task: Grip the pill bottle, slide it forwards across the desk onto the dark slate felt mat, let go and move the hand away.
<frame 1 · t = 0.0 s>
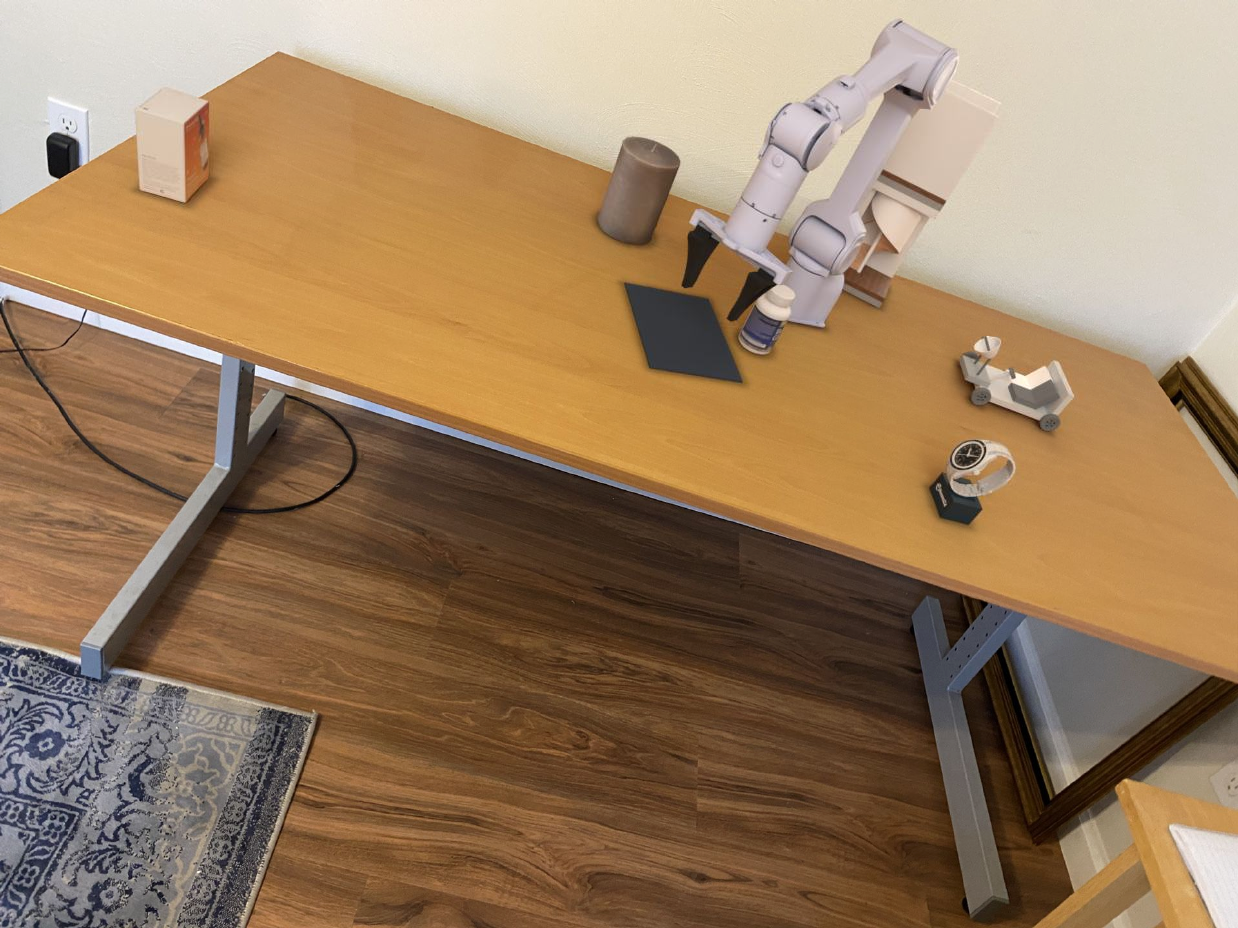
hand: (708, 303, 108), 11 cm above the table, tool pointing down, fingers open, 7 cm apart
tall cream cabinet: (854, 283, 153), on the table
pillar candle: (623, 230, 139), on the table
small box: (175, 185, 107), on the table
toy car: (995, 395, 139), on the table
watch: (947, 507, 112), on the table
pill bottle: (753, 345, 126), on the table
felt mat: (680, 331, 121), on the table
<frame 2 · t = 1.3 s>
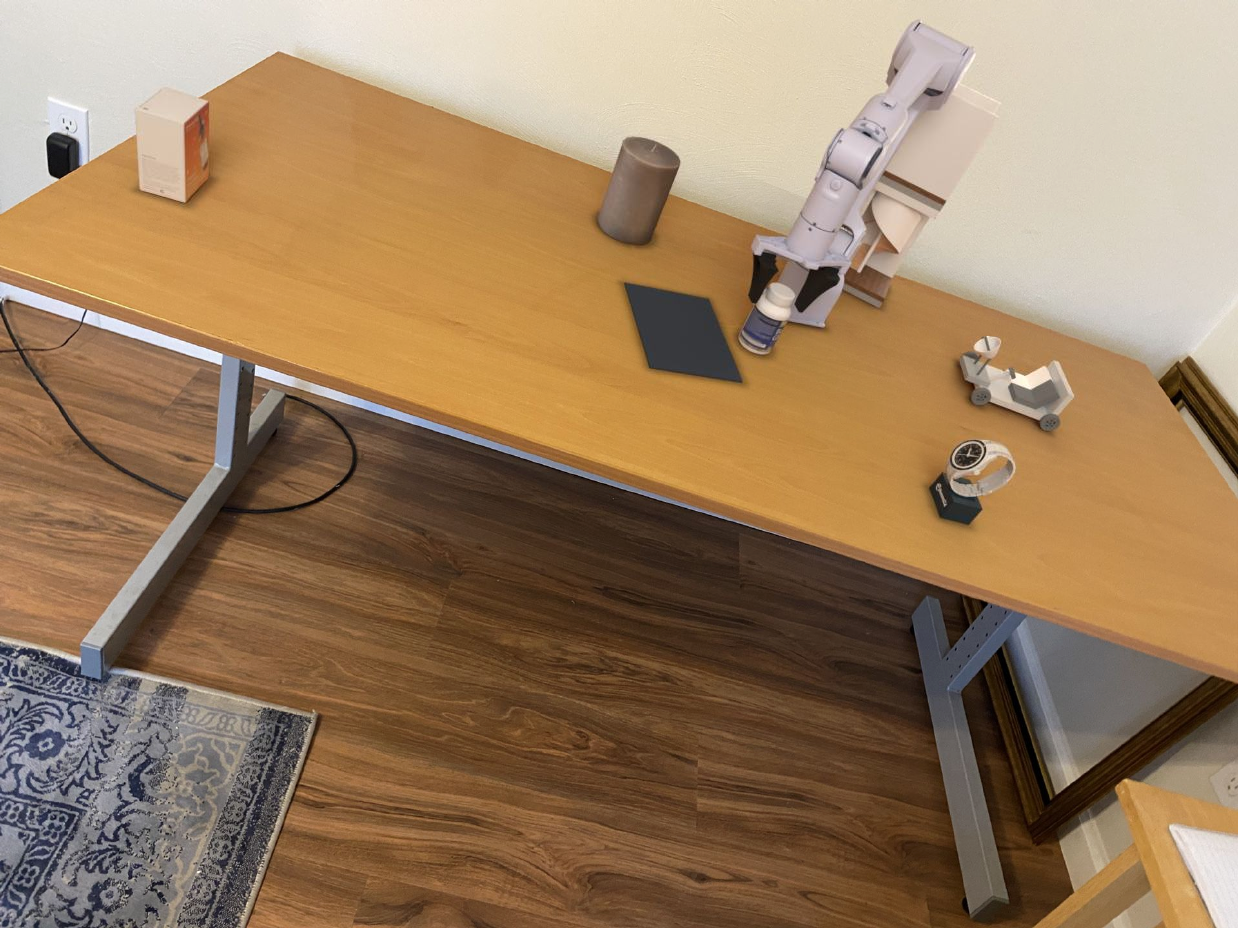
hand: (775, 304, 121), 7 cm above the table, tool pointing down, fingers open, 7 cm apart
nothing on the table moved.
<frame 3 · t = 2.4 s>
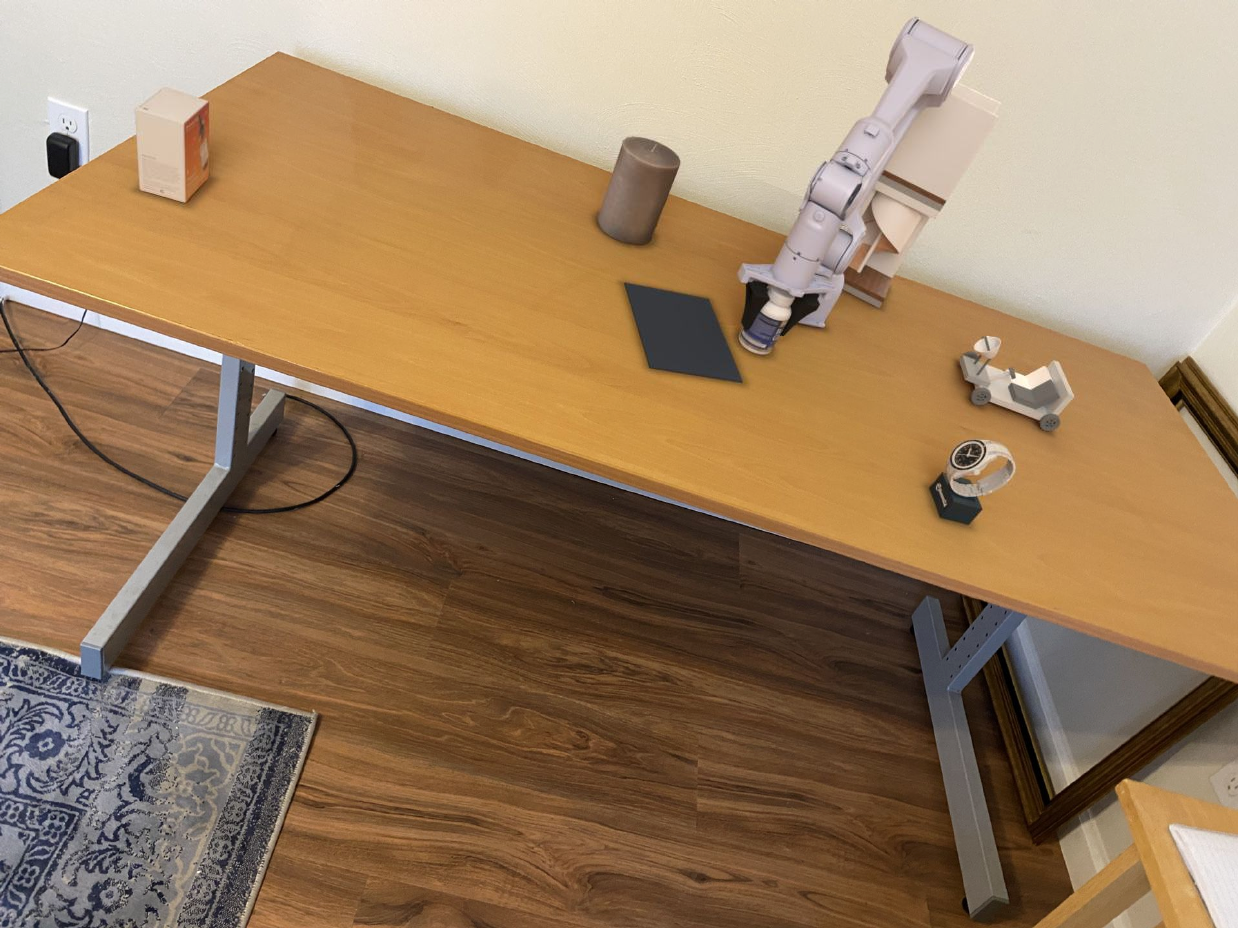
hand: (762, 329, 124), 3 cm above the table, tool pointing down, fingers closed on pill bottle, 5 cm apart
pill bottle: (753, 345, 126), on the table, touching gripper
everything else where it was.
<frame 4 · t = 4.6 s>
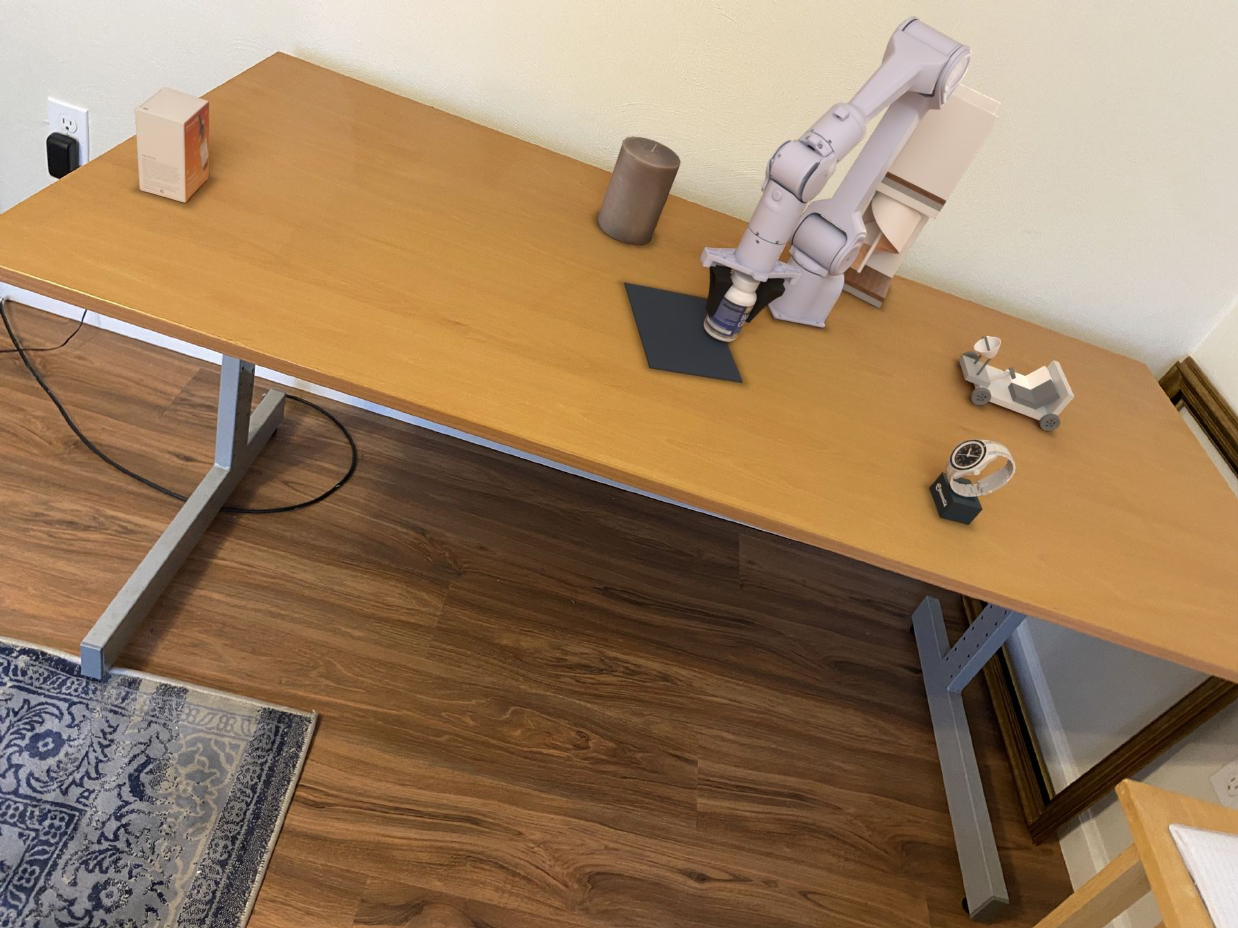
hand: (727, 315, 121), 4 cm above the table, tool pointing down, fingers closed on pill bottle, 5 cm apart
pill bottle: (719, 332, 123), point 1 cm above the table, touching gripper
everything else where it was.
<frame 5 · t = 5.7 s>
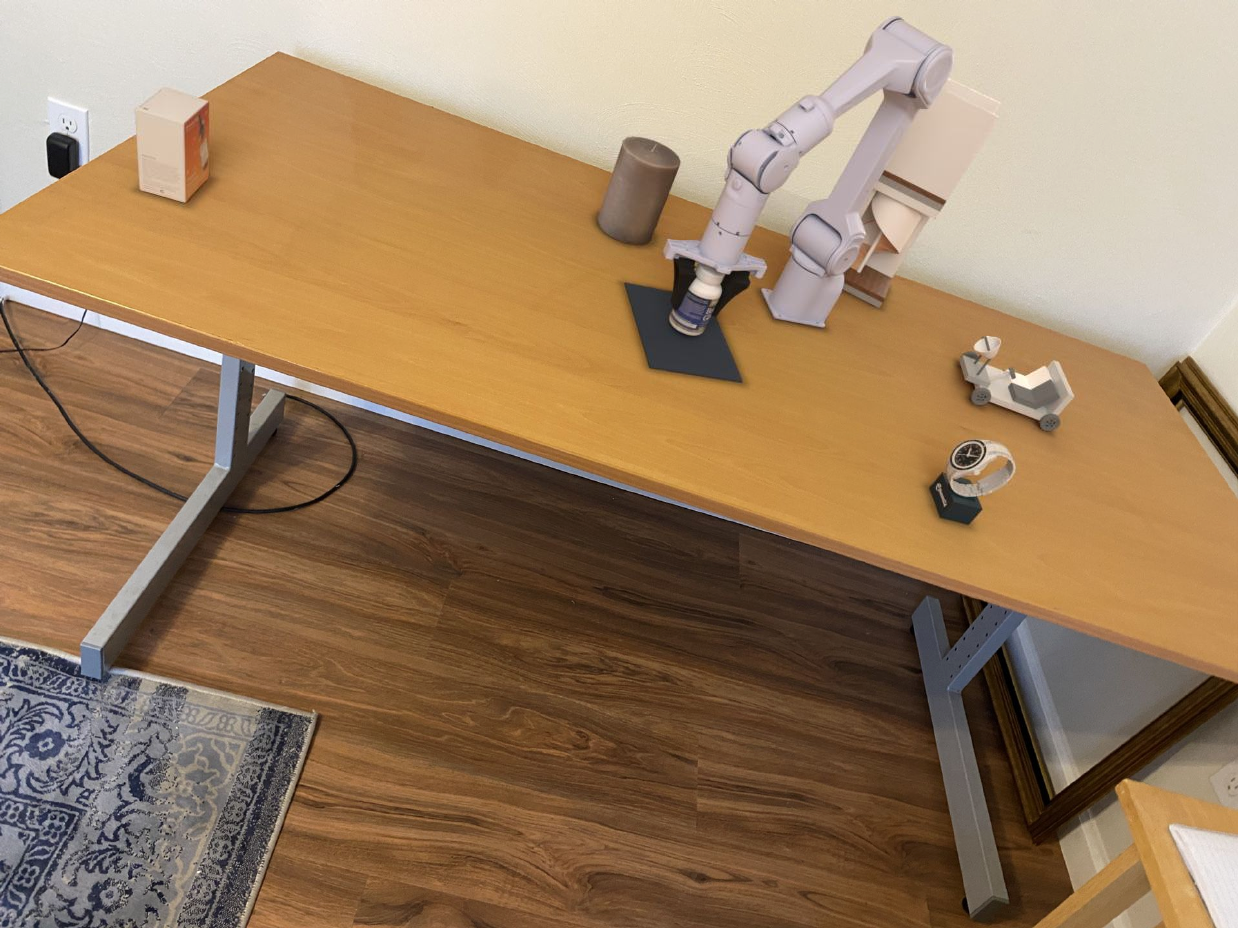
hand: (693, 308, 119), 4 cm above the table, tool pointing down, fingers closed on pill bottle, 5 cm apart
pill bottle: (685, 326, 121), point 1 cm above the table, touching gripper
everything else where it was.
when the fingers open (3 cm above the table, at t = 6.7 s): pill bottle stays where it is, resting on felt mat.
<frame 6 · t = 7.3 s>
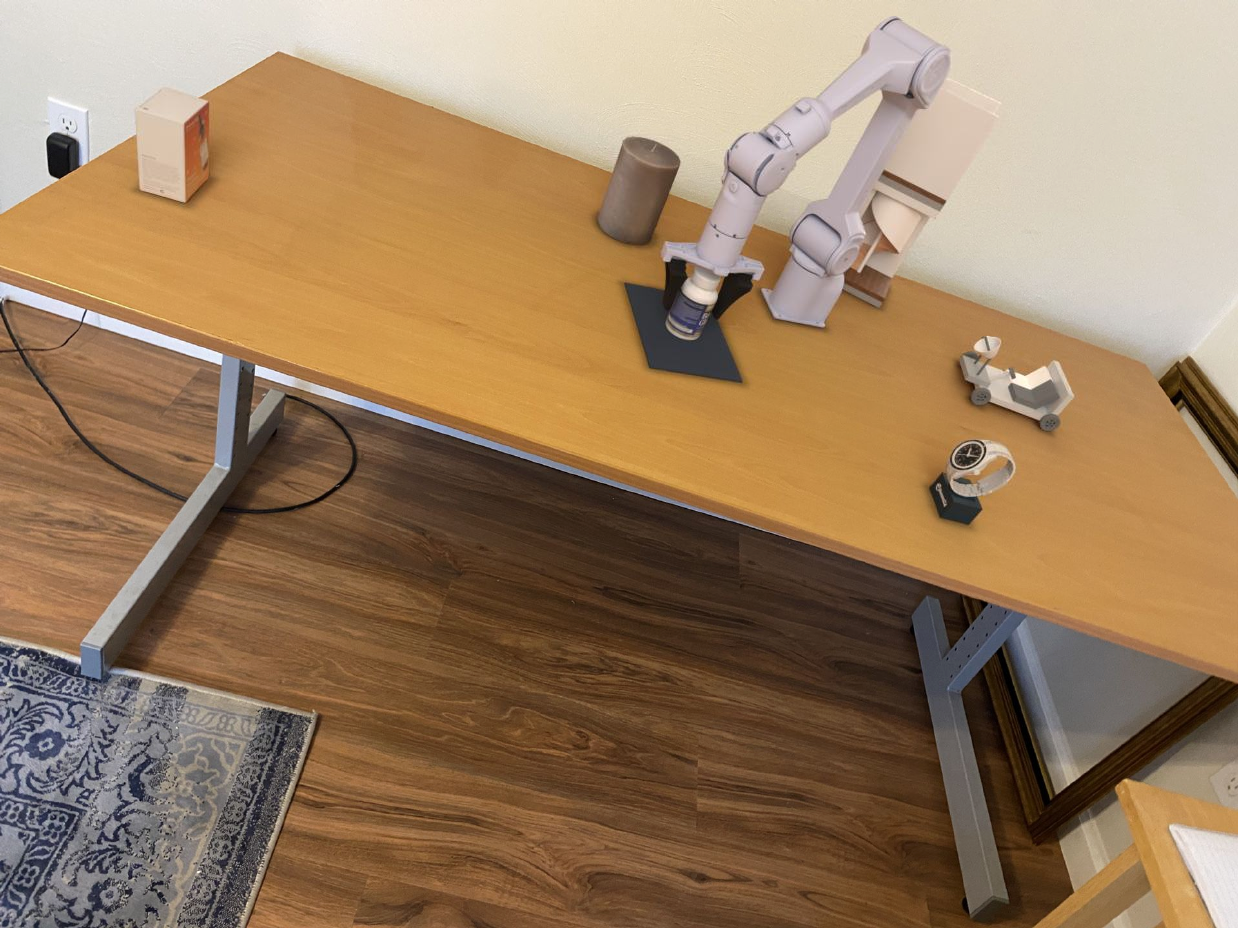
hand: (690, 310, 119), 4 cm above the table, tool pointing down, fingers open, 7 cm apart
pill bottle: (681, 331, 121), resting on felt mat
everything else where it was.
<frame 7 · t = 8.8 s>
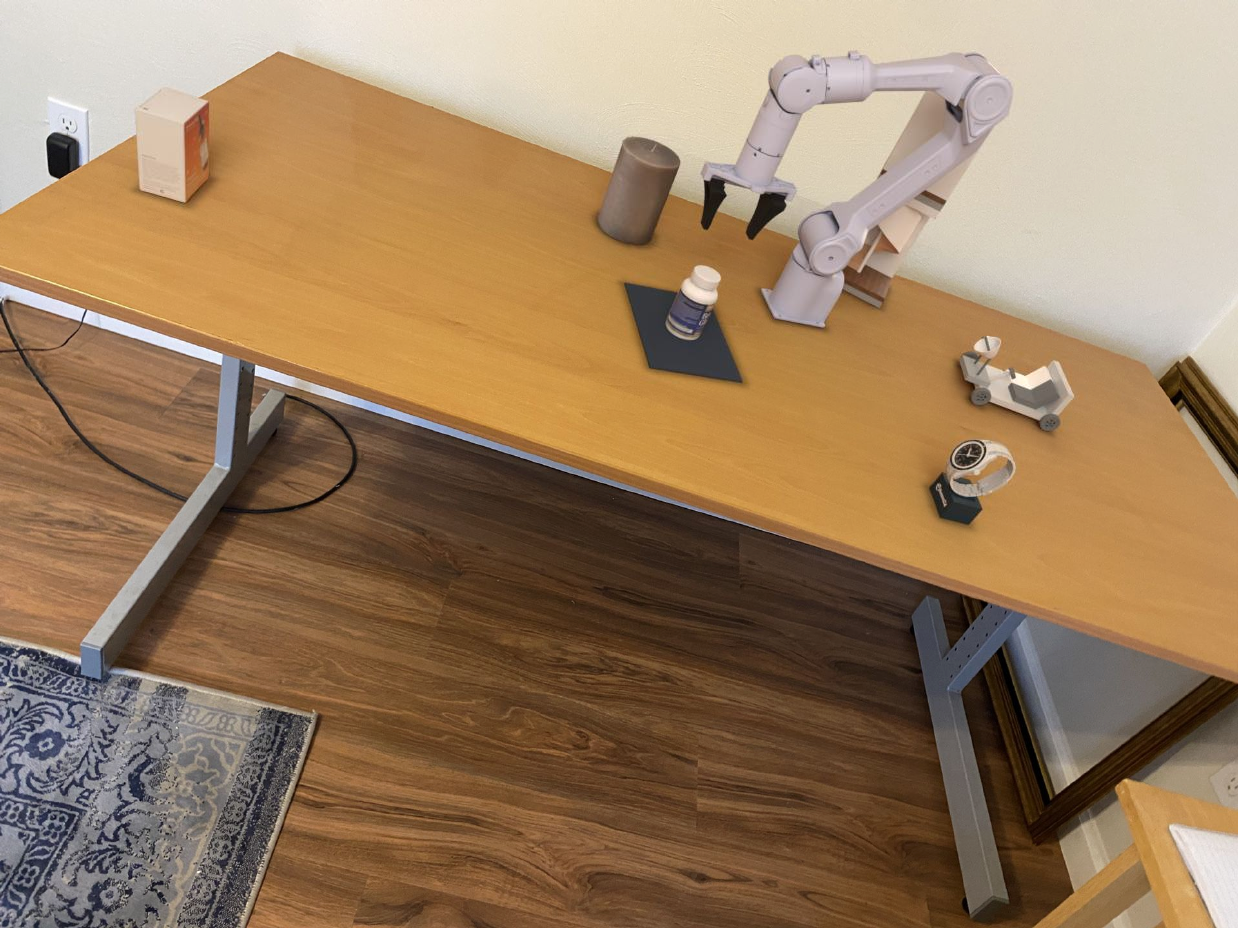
hand: (726, 231, 127), 10 cm above the table, tool pointing down, fingers open, 7 cm apart
nothing on the table moved.
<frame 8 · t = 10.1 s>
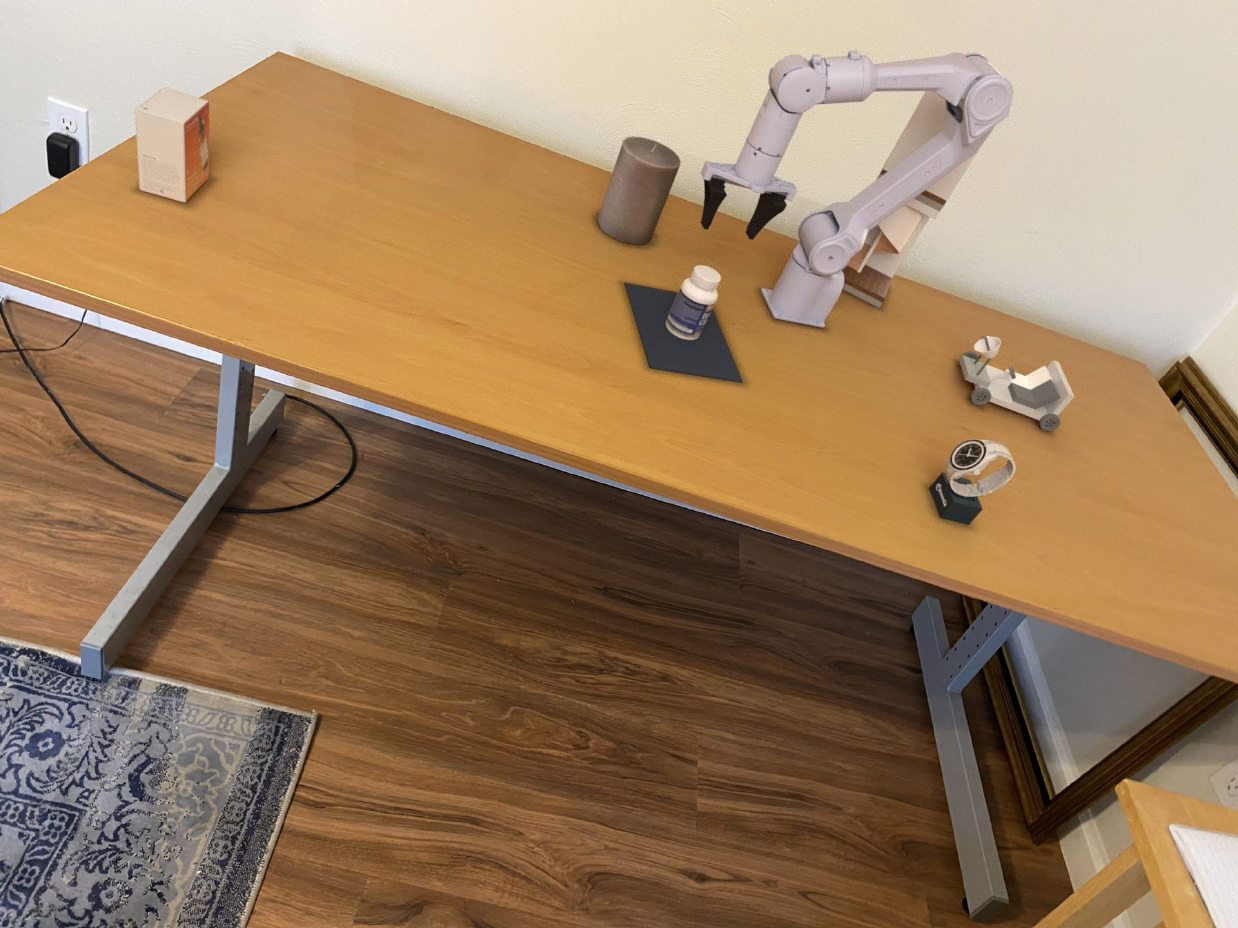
hand: (726, 231, 127), 10 cm above the table, tool pointing down, fingers open, 7 cm apart
nothing on the table moved.
at the end: pill bottle inside the target area on the felt mat (0.1 cm from its centre), point 0.1 cm above the felt mat's base; pill bottle tilted 0°; pill bottle moved 11.9 cm from its start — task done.
